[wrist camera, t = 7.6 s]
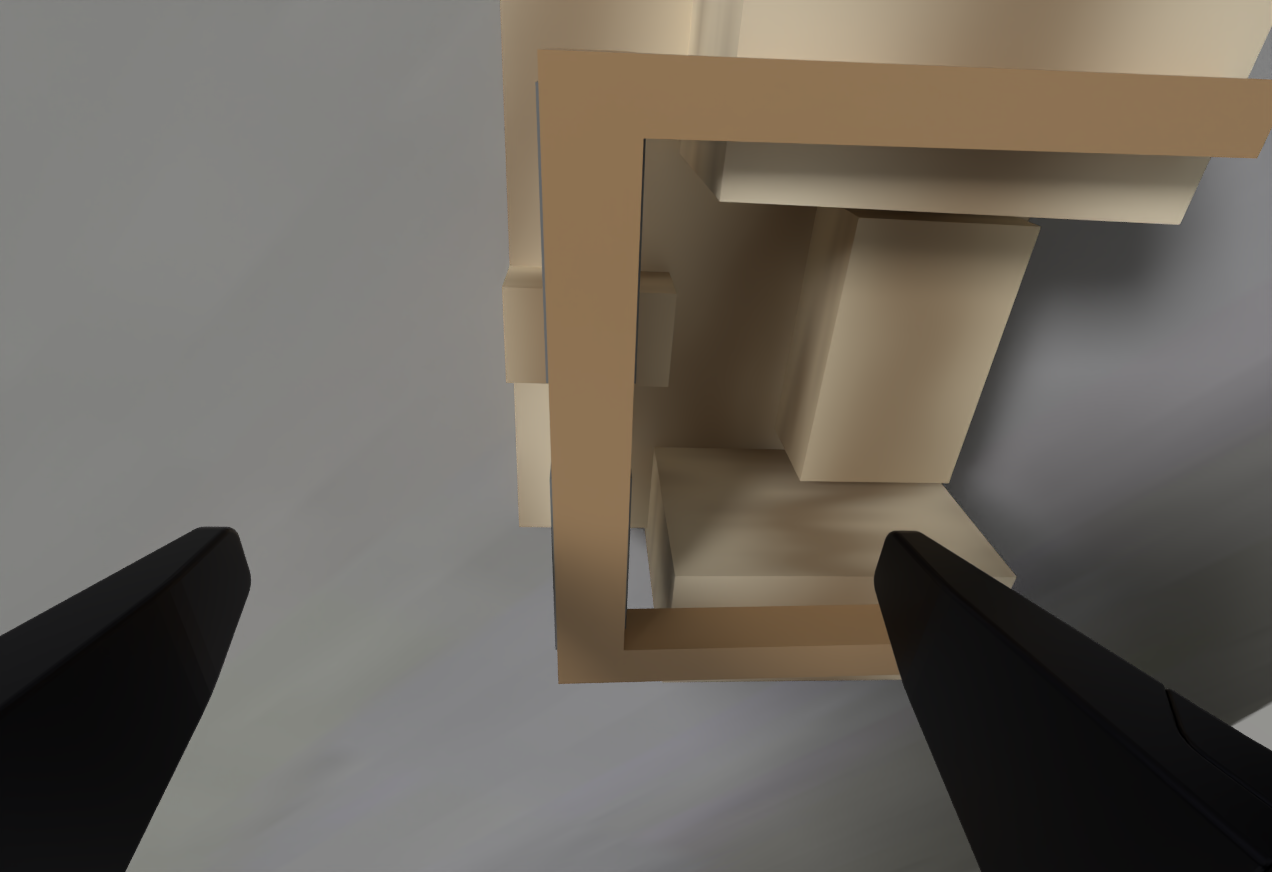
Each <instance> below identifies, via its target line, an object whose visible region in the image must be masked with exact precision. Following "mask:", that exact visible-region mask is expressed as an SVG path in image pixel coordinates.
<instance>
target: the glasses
mask: <svg viewBox="0 0 1272 872" xmlns="http://www.w3.org/2000/svg"><path fill="white" fill-rule="evenodd" d="M537 58H538V81H537V82H535V86H536V114H537V142H538V170H539V198H540V226H541V254H542V282H543V310H544V338H545V366H546V383H548V385H549V414H550V444H551V468H550V506H551V534H552V562H553V590H554V618H555V646H556V650H557V652H558V681H559V684H570V683H608V682H645V681H683V680H720V679H758V678H795V677H832V676H870V675H900V673H899V670H898V667H897V664H896V660H895V657H894V654H893V650H892V647H891V644H890V640H889V637H888V633H887V630H886V627H885V623H884V620H883V617H882V613H881V610H880V606H879V604H869V605H816V606H762V607H709V608H656V609H627V594H628V569H629V544H630V519H631V495H632V472H631V449H632V423H633V397H634V384H636V371H637V346H638V321H639V296H640V271H641V247H642V222H643V197H644V172H645V148H646V139H676V140H707V141H738V142H769V143H800V144H831V145H862V146H892V147H923V148H954V149H985V150H1016V151H1047V152H1078V153H1108V154H1139V155H1170V156H1201V157H1232V158H1257V157H1258V155H1259V153H1260V151H1261V149H1262V147H1263V145H1264V143H1265V141H1266V139H1267V136H1268V134H1269V132H1270V130H1271V128H1272V80H1268V79H1248V78H1228V77H1205V76H1181V75H1157V74H1133V73H1109V72H1085V71H1061V70H1037V69H1013V68H989V67H965V66H941V65H917V64H893V63H869V62H845V61H821V60H797V59H773V58H749V57H725V56H701V55H677V54H653V53H637V52H630V51H612V50H588V49H564V48H549V49H537Z"/></svg>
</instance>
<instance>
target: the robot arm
mask: <svg viewBox="0 0 1272 872" xmlns="http://www.w3.org/2000/svg"><path fill="white" fill-rule="evenodd" d="M250 586H251V575H250V570H249V567H248V564H247V561H246V557H245V554H244V551H243V548H242V544H241V541H240V538H239V535H238V533H237V532H236V531H235V530H234V529H233V528H230V527H199V528H196V529H194V530H192V531H191V532H189V533H187V534H185V535H183V536H182V537H180V538H178V539H176V540H174V541H172V542H171V543H169V544H167V545H165V546H163V547H161V548H160V549H158V550H156V551H154V552H152V553H151V554H149V555H147V556H145V557H143V558H141V559H140V560H138V561H136V562H134V563H132V564H130V565H129V566H127V567H125V568H123V569H121V570H120V571H118V572H116V573H114V574H112V575H110V576H109V577H107V578H105V579H103V580H101V581H99V582H98V583H96V584H94V585H92V586H90V587H89V588H87V589H85V590H83V591H81V592H79V593H78V594H76V595H74V596H72V597H70V598H68V599H67V600H65V601H63V602H61V603H59V604H58V605H56V606H54V607H52V608H50V609H48V610H47V611H45V612H43V613H41V614H39V615H38V616H36V617H34V618H32V619H30V620H28V621H27V622H25V623H23V624H21V625H19V626H17V627H16V628H14V629H12V630H10V631H8V632H7V633H5V634H3V635H1V636H0V872H125V871H126V869H127V867H128V865H129V863H130V861H131V859H132V857H133V855H134V853H135V851H136V849H137V847H138V845H139V843H140V841H141V839H142V837H143V835H144V833H145V831H146V829H147V827H148V825H149V822H150V820H151V818H152V816H153V814H154V812H155V810H156V808H157V806H158V804H159V802H160V800H161V798H162V796H163V794H164V792H165V790H166V788H167V786H168V784H169V782H170V780H171V778H172V776H173V774H174V772H175V770H176V768H177V765H178V763H179V761H180V759H181V757H182V755H183V753H184V751H185V749H186V747H187V745H188V743H189V741H190V739H191V737H192V735H193V733H194V731H195V729H196V727H197V725H198V723H199V721H200V719H201V717H202V715H203V712H204V710H205V708H206V706H207V704H208V702H209V699H210V697H211V695H212V693H213V690H214V688H215V685H216V682H217V680H218V677H219V675H220V672H221V669H222V666H223V663H224V661H225V658H226V655H227V652H228V650H229V647H230V644H231V641H232V638H233V636H234V633H235V630H236V627H237V625H238V622H239V619H240V616H241V613H242V611H243V608H244V605H245V602H246V599H247V597H248V594H249V591H250ZM874 589H875V593H876V596H877V600H878V603H879V606H880V610H881V613H882V617H883V620H884V623H885V627H886V630H887V633H888V637H889V640H890V644H891V647H892V650H893V654H894V657H895V660H896V664H897V667H898V670H899V673H900V676H901V679H902V683H903V685H904V688H905V690H906V693H907V696H908V698H909V701H910V703H911V705H912V708H913V710H914V713H915V715H916V717H917V720H918V722H919V725H920V727H921V729H922V732H923V734H924V736H925V739H926V741H927V744H928V746H929V748H930V751H931V753H932V756H933V758H934V760H935V763H936V765H937V767H938V770H939V772H940V775H941V777H942V779H943V782H944V784H945V787H946V789H947V791H948V794H949V796H950V798H951V801H952V803H953V806H954V808H955V810H956V813H957V815H958V818H959V820H960V822H961V825H962V827H963V829H964V832H965V834H966V837H967V839H968V841H969V844H970V846H971V848H972V851H973V853H974V856H975V858H976V860H977V863H978V865H979V868H980V870H981V872H1272V751H1271V750H1270V749H1268V748H1266V747H1264V746H1263V745H1261V744H1259V743H1257V742H1256V741H1254V740H1252V739H1251V738H1249V737H1247V736H1245V735H1244V734H1242V733H1241V732H1239V731H1238V730H1236V729H1234V728H1233V727H1231V726H1229V725H1228V724H1226V723H1224V722H1223V721H1221V720H1220V719H1218V718H1216V717H1215V716H1213V715H1211V714H1210V713H1208V712H1206V711H1205V710H1203V709H1201V708H1200V707H1198V706H1197V705H1195V704H1194V703H1192V702H1190V701H1189V700H1187V699H1186V698H1184V697H1183V696H1181V695H1179V694H1178V693H1176V692H1175V691H1173V690H1171V689H1165V687H1164V685H1163V684H1162V683H1160V682H1159V681H1157V680H1155V679H1154V678H1152V677H1151V676H1149V675H1147V674H1146V673H1144V672H1143V671H1141V670H1139V669H1138V668H1136V667H1135V666H1133V665H1132V664H1130V663H1128V662H1127V661H1125V660H1124V659H1122V658H1120V657H1119V656H1117V655H1116V654H1114V653H1112V652H1111V651H1109V650H1108V649H1106V648H1104V647H1103V646H1101V645H1100V644H1098V643H1096V642H1095V641H1093V640H1092V639H1090V638H1089V637H1087V636H1085V635H1084V634H1082V633H1081V632H1079V631H1077V630H1076V629H1074V628H1073V627H1071V626H1069V625H1068V624H1066V623H1065V622H1063V621H1061V620H1060V619H1058V618H1057V617H1055V616H1054V615H1052V614H1050V613H1049V612H1047V611H1046V610H1044V609H1042V608H1041V607H1039V606H1038V605H1036V604H1034V603H1033V602H1031V601H1030V600H1028V599H1026V598H1025V597H1023V596H1022V595H1020V594H1018V593H1017V592H1015V591H1014V590H1012V589H1011V588H1009V587H1007V586H1006V585H1004V584H1003V583H1001V582H999V581H998V580H996V579H995V578H993V577H991V576H990V575H988V574H987V573H985V572H983V571H982V570H980V569H979V568H977V567H976V566H974V565H972V564H971V563H969V562H968V561H966V560H964V559H963V558H961V557H960V556H958V555H956V554H955V553H953V552H952V551H950V550H948V549H947V548H945V547H944V546H942V545H941V544H939V543H937V542H936V541H934V540H933V539H931V538H929V537H928V536H926V535H925V534H923V533H921V532H919V531H906V530H895V531H892V532H890V533H888V535H887V536H886V538H885V541H884V544H883V547H882V550H881V553H880V557H879V560H878V563H877V566H876V569H875V573H874Z"/></svg>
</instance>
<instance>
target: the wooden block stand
mask: <svg viewBox="0 0 1272 872" xmlns="http://www.w3.org/2000/svg"><path fill="white" fill-rule="evenodd" d="M500 11H501V39H502V66H503V93H504V121H505V148H506V176H507V203H508V231H509V258H510V266H509V269H508V272H507V275H506V278H505V281H504V283H503V286H502V296H503V319H504V342H505V365H506V383H514V396H515V423H516V451H517V478H518V506H519V527H551V506H550V468H551V444H550V414H549V385H548V383H546V366H545V338H544V310H543V282H542V254H541V226H540V198H539V170H538V142H537V114H536V86H535V82H537V81H538V58H537V49H549V48H564V49H588V50H612V51H630V52H637V53H653V54H677V55H701V56H725V57H749V58H773V59H797V60H821V61H845V62H869V63H893V64H917V65H941V66H965V67H989V68H1013V69H1037V70H1061V71H1085V72H1109V73H1133V74H1157V75H1181V76H1205V77H1228V78H1248V76H1249V74H1250V72H1251V70H1252V68H1253V65H1254V63H1255V61H1256V59H1257V57H1258V55H1259V53H1260V50H1261V48H1262V46H1263V44H1264V42H1265V40H1266V37H1267V35H1268V33H1269V31H1270V29H1271V27H1272V0H500ZM1210 158H1211V157H1201V156H1170V155H1139V154H1108V153H1078V152H1047V151H1016V150H985V149H954V148H923V147H892V146H862V145H831V144H800V143H769V142H738V141H707V140H676V139H646V148H645V172H644V197H643V222H642V247H641V271H640V296H639V321H638V346H637V371H636V384H634V397H633V423H632V449H631V472H632V495H631V519H630V528H645V536H646V544H647V553H648V561H649V570H650V579H651V587H652V596H653V604H654V609H656V608H709V607H762V606H816V605H869V604H879V603H878V600H877V596H876V593H875V589H874V573H875V569H876V566H877V563H878V560H879V557H880V553H881V550H882V547H883V544H884V541H885V538H886V536H887V535H888V533H890V532H892V531H895V530H906V531H919V532H921V533H923V534H925V535H926V536H928V537H929V538H931V539H933V540H934V541H936V542H937V543H939V544H941V545H942V546H944V547H945V548H947V549H948V550H950V551H952V552H953V553H955V554H956V555H958V556H960V557H961V558H963V559H964V560H966V561H968V562H969V563H971V564H972V565H974V566H976V567H977V568H979V569H980V570H982V571H983V572H985V573H987V574H988V575H990V576H991V577H993V578H995V579H996V580H998V581H999V582H1001V583H1003V584H1004V585H1006V586H1007V587H1009V588H1012V586H1013V584H1014V582H1015V580H1016V575H1015V574H1014V573H1013V572H1012V570H1011V569H1010V568H1009V567H1008V566H1007V564H1006V563H1005V562H1004V561H1003V559H1002V558H1001V557H1000V556H999V554H998V553H997V552H996V551H995V549H994V548H993V547H992V546H991V544H990V543H989V542H988V541H987V539H986V538H985V537H984V536H983V535H982V533H981V532H980V531H979V530H978V528H977V527H976V526H975V525H974V523H973V522H972V521H971V520H970V518H969V517H968V516H967V515H966V513H965V512H964V511H963V510H962V508H961V507H960V506H959V505H958V504H957V502H956V501H955V500H954V499H953V497H952V496H951V495H950V494H949V492H948V491H947V490H946V489H945V487H944V486H943V485H942V484H941V483H949V481H950V478H951V475H952V473H953V470H954V467H955V464H956V462H957V459H958V456H959V453H960V450H961V448H962V445H963V442H964V439H965V437H966V434H967V431H968V428H969V425H970V423H971V420H972V417H973V414H974V412H975V409H976V406H977V403H978V400H979V398H980V395H981V392H982V389H983V387H984V384H985V381H986V378H987V376H988V373H989V370H990V367H991V364H992V362H993V359H994V356H995V353H996V351H997V348H998V345H999V342H1000V339H1001V337H1002V334H1003V331H1004V328H1005V326H1006V323H1007V320H1008V317H1009V314H1010V312H1011V309H1012V306H1013V303H1014V301H1015V298H1016V295H1017V292H1018V290H1019V287H1020V284H1021V281H1022V278H1023V276H1024V273H1025V270H1026V267H1027V265H1028V262H1029V259H1030V256H1031V253H1032V251H1033V248H1034V245H1035V242H1036V240H1037V237H1038V234H1039V231H1040V228H1041V226H1038V225H1036V224H1033V223H1031V222H1028V221H1029V218H1030V217H1036V218H1056V219H1076V220H1096V221H1115V222H1135V223H1155V224H1174V225H1180V223H1181V221H1182V219H1183V217H1184V215H1185V212H1186V210H1187V208H1188V206H1189V204H1190V202H1191V199H1192V197H1193V195H1194V193H1195V191H1196V189H1197V186H1198V184H1199V182H1200V180H1201V178H1202V176H1203V173H1204V171H1205V169H1206V167H1207V165H1208V163H1209V161H1210ZM831 680H902V679H901V676H900V675H870V676H832V677H795V678H758V679H720V680H683V681H663V682H739V681H831Z"/></svg>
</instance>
